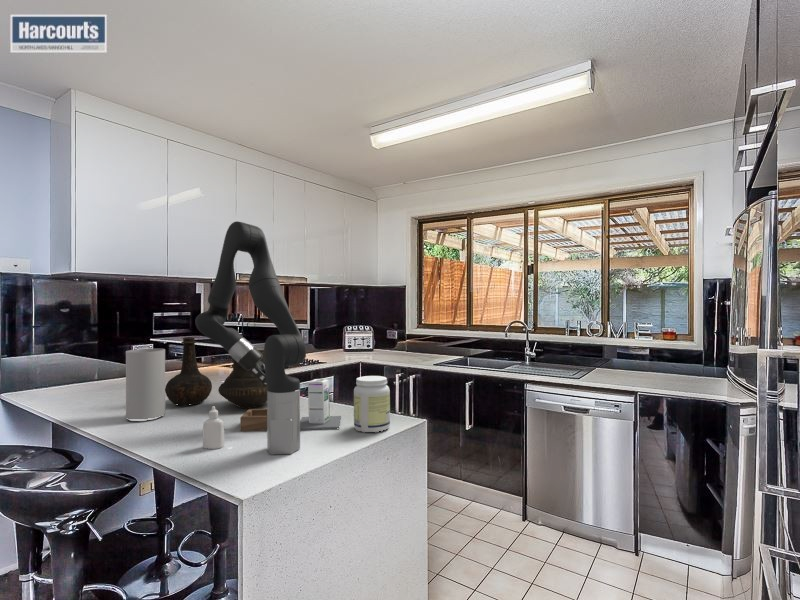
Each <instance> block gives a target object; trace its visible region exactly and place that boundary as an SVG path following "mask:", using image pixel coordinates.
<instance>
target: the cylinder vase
mask: <svg viewBox="0 0 800 600" xmlns="http://www.w3.org/2000/svg"><path fill="white" fill-rule="evenodd" d="M165 388H166V349H165V348H138V349H130V350H126V351H125V419H126V418H128V419H148V418H155V417H159V416H162V415H164V414H165V415H166V392H165ZM165 415H164V416H165Z"/></svg>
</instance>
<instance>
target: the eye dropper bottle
mask: <svg viewBox="0 0 800 600" xmlns="http://www.w3.org/2000/svg"><path fill="white" fill-rule="evenodd" d="M202 424H203V425H202V432H203V433H202V447H203V449H207V448H208V449H209V450H218V449H222V447H224V445H225V426H224V425H225V423H224V420H222V419H221V418H219V411H218V409H216V407H215V405H214V406H211V410H209V411H208V419H206V420H204V421H203V423H202ZM208 449H207V450H208Z"/></svg>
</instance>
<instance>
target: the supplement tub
mask: <svg viewBox="0 0 800 600" xmlns="http://www.w3.org/2000/svg"><path fill="white" fill-rule="evenodd" d="M355 381H356V382H355V384H356V386H355V387H354V389H353V426H354V429H355V430H356V431H358V432H360V431H362V432H361V433H365V432H375V433H380V432H379V431H381V432H384V431H383V430H385V431H387V430H388V429H389V428H390V425H391V397H390V396H391V395H390V394H391V390H390V386H389V385H387V384H388V378H387V377H386V376H383V375H382V376H381V375H365V376H364V375H363V376H359V377H357V378H356V380H355ZM386 429H387V430H386Z"/></svg>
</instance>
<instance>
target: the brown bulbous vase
mask: <svg viewBox="0 0 800 600" xmlns="http://www.w3.org/2000/svg"><path fill="white" fill-rule="evenodd" d="M196 343H197V341H196V338H195V337H193V336H192V337H189V336H185V337H182V341H181V344H182V362H181V363H182V364H181V369H180V372H179V373H178V374H176V375H174V377H172V378H170V379H169V380H168V381H167V383H165V396H166V397H167V399H168V400H169V401H170V402H171V403H173V404H174V405H176V404H178V405H177V406H179V405H188V406H190V405H189V404H195V405H197V404H196V403H198V404H200V402H201V403H203V402H204V401H205V400H206V399H207V398H208V397H209V396H210V394H211V393H212V390H213V389H212V388H213V385H212V381H211V379H210V377H208V376H206V375H205V374H203V373H201V372H200V370H199V367H198V366H199V365H198V363H197V355H196V347H195V345H196Z"/></svg>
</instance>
